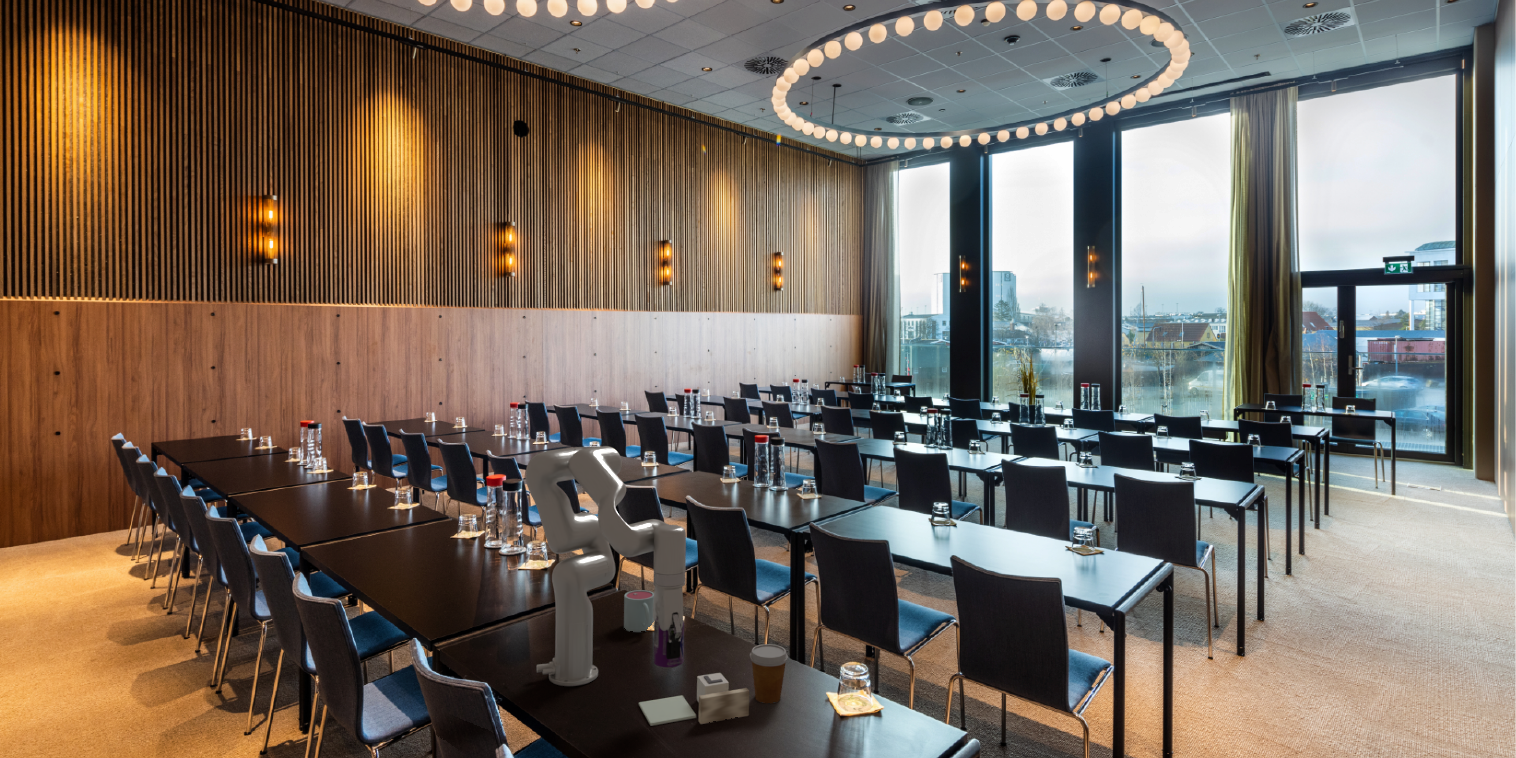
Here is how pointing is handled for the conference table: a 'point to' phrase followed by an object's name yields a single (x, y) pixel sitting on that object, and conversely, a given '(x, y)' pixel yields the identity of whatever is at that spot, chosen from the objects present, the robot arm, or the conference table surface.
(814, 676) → the conference table surface
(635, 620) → the mug
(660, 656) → the beverage can
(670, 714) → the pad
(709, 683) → the letter block
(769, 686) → the disposable coffee cup
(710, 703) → the birch screen
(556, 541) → the robot arm
